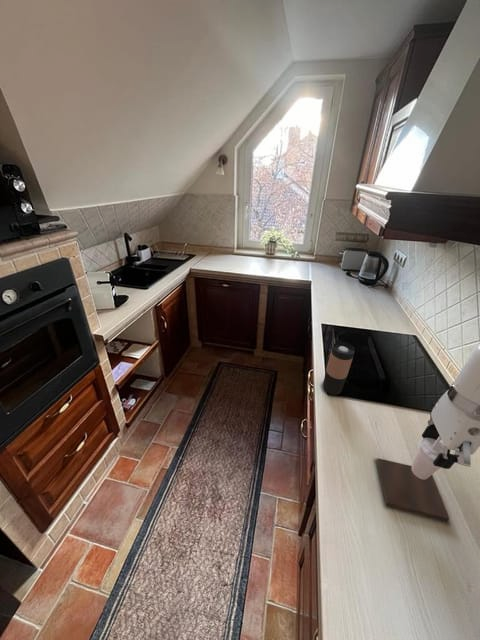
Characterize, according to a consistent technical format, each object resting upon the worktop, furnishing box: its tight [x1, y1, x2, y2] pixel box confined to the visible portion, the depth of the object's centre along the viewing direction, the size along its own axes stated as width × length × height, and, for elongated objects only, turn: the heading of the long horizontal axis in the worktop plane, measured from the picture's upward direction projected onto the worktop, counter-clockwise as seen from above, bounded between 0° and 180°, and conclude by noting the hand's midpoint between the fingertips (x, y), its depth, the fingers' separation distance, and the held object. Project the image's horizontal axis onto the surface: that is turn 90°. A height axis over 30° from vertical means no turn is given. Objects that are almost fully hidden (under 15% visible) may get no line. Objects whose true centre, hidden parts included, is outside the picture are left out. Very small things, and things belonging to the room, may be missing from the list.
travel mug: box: [322, 341, 355, 396], centre depth 95 cm, size 8×8×20 cm
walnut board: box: [375, 457, 450, 522], centre depth 69 cm, size 14×12×2 cm
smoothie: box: [411, 436, 452, 480], centre depth 61 cm, size 6×6×14 cm
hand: (434, 451), depth 60 cm, fingers closed on smoothie, 6 cm apart
